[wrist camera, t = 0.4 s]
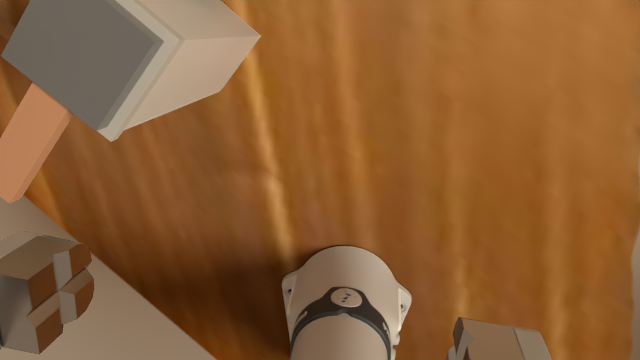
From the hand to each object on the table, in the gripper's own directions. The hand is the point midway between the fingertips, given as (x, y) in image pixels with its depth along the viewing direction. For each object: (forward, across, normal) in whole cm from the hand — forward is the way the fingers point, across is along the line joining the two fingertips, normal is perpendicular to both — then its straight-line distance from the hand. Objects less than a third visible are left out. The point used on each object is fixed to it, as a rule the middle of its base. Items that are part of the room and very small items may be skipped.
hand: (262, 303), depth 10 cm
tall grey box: (+48, -21, 0) cm, 52 cm away
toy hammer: (+22, -22, -3) cm, 31 cm away
